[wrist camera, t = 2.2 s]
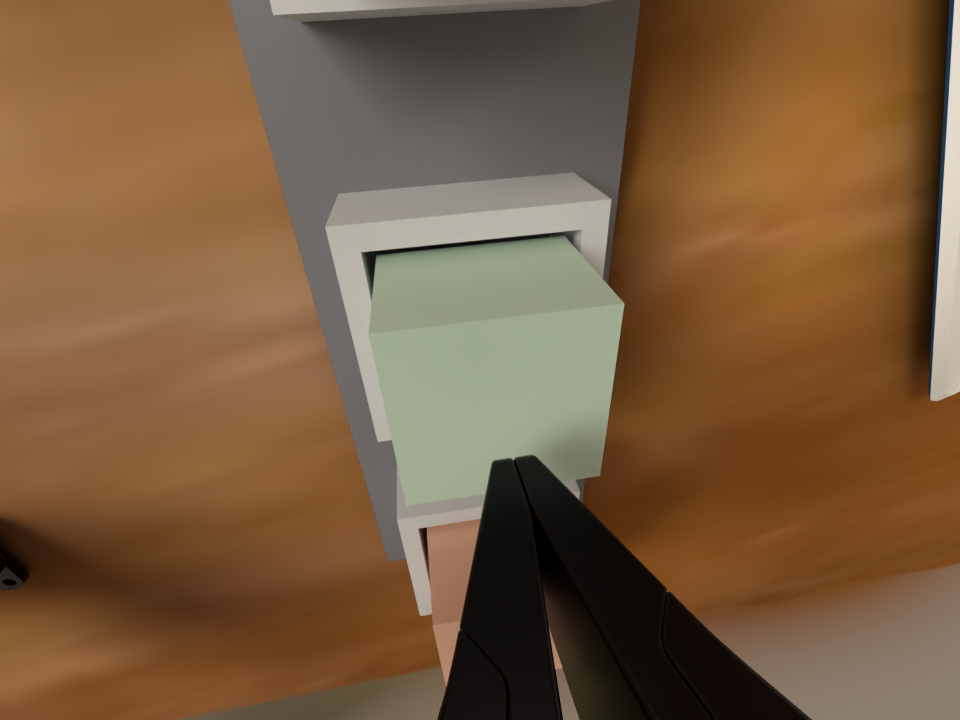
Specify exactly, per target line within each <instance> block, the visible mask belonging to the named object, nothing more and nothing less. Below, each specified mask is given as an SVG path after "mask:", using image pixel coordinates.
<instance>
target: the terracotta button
mask: <svg viewBox="0 0 960 720" xmlns="http://www.w3.org/2000/svg"><path fill="white" fill-rule="evenodd" d="M480 520H481V519H476V520H469V521H463V522H457V523H451V524H444V525H438V526H432V527H427V541H428V557H429V574H430V590H431V606H432V623H433V629H434V634H435V638H436V643H437V648H438V652H439V657H440V661H441V666H442V670H443V675H444V679H445V684H446V687H447V682H448V678H449V673H450V669H451V665H452V660H453V656H454V651H455V646H456V640H457V635H458V632H459V631H460V622H461V616H462V611H463V606H464V601H465V596H466V591H467V586H468V581H469V576H470V571H471V565H472V560H473V555H474V550H475V545H476V540H477V535H478V530H479V525H480ZM549 631H550V629H549ZM550 638H551V644H552V651H553V657H554V664H555V670H556V669H560V668H562V665H561V662H560V659H559V656H558V653H557V650H556V647H555V644H554V641H553V638H552V635H551V632H550Z"/></svg>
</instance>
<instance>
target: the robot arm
mask: <svg viewBox="0 0 960 720" xmlns="http://www.w3.org/2000/svg"><path fill="white" fill-rule="evenodd" d="M28 577H29V574H28V572H27V571H26V570H25V569H24V568H23V567H21V566H20V565H19V564H18V563H17V562H16V561H15V560H14V559H13V558H12V557H11V556H10V555H9V554H7V553H6V552H5V551H4V550H3V549H2V548H1V547H0V591H4V590H10V589H16V588H20V587H22V586H23V585H24V583H25V582H26V580H27V579H28ZM549 629H550V631H549ZM550 632H551V635H552V638H553V641H554V644H555V647H556V650H557V653H558V656H559V659H560V662H561V665H562V668H563V671H564V674H565V677H566V680H567V683H568V686H569V689H570V691H571V695H572V698H573V700H574V704H575V707H576V710H577V713H578V716H579V719H580V720H812V719H810V718H809V717H808V716H807V715H806V714H805V713H803V712H802V711H801V710H800V709H799V708H797V707H796V706H795V705H794V704H793V703H792V702H790V701H789V700H788V699H787V698H786V697H784V696H783V695H782V694H781V693H780V692H779V691H778V690H776V689H775V688H774V687H773V686H772V685H770V684H769V683H768V682H767V681H766V680H765V679H763V678H762V677H761V676H760V675H759V674H758V673H756V672H755V671H754V670H753V669H751V668H750V667H749V666H748V665H747V664H746V663H745V662H744V661H743V660H741V659H740V658H739V657H738V656H737V655H735V654H734V653H733V652H732V651H731V650H730V649H729V648H728V647H727V646H726V645H724V644H723V643H722V642H721V641H720V640H719V639H718V638H716V637H715V636H714V635H713V634H712V633H711V632H710V631H709V630H708V629H707V628H706V627H705V626H704V625H703V624H702V623H701V622H700V621H699V620H698V619H697V618H696V617H695V616H694V615H693V614H692V613H691V612H690V611H689V610H688V609H687V608H686V607H685V606H684V605H683V604H682V603H681V602H680V601H679V600H678V599H677V598H676V597H675V596H674V595H673V594H672V593H671V592H667V589H666V587H665V586H664V585H663V584H662V583H661V582H660V581H659V580H658V579H657V578H656V577H655V576H654V575H653V574H652V573H651V572H650V571H649V570H648V569H647V568H646V567H645V566H644V565H643V564H642V563H641V562H640V561H639V560H638V559H637V558H636V557H635V556H634V555H633V554H632V553H631V552H630V551H629V550H628V549H627V548H626V547H625V546H624V545H623V544H622V543H621V542H620V541H619V540H618V539H617V538H616V537H615V536H614V535H613V534H612V533H611V532H610V530H609V529H608V528H607V527H606V526H605V525H604V524H603V523H602V522H601V521H600V520H599V519H598V518H597V517H596V516H595V515H594V514H593V513H592V512H591V511H590V510H589V509H588V508H587V507H586V506H585V505H584V504H583V503H582V502H581V501H580V500H579V499H578V498H577V497H576V496H575V495H574V494H573V493H572V492H571V491H570V490H569V489H568V488H567V487H566V486H565V485H564V484H563V483H562V482H561V481H560V480H559V479H558V478H557V477H556V476H555V475H554V474H553V473H552V472H551V471H550V470H549V469H548V468H547V467H546V466H545V465H544V464H543V463H542V462H541V461H540V460H539V459H538V458H537V457H536V456H535V455H525V456H519V457H515V458H514V460H513V459H512V458H505V459H498V460H494V461H493V462H492V464H491V469H490V474H489V479H488V484H487V489H486V494H485V499H484V504H483V509H482V514H481V520H480V525H479V530H478V535H477V540H476V545H475V550H474V555H473V560H472V565H471V571H470V576H469V581H468V586H467V591H466V596H465V601H464V606H463V611H462V616H461V622H460V631H459V632H458V635H457V640H456V646H455V651H454V656H453V660H452V665H451V669H450V673H449V678H448V682H447V687H446V691H445V695H444V698H443V702H442V706H441V708H440V712H439V716H438V720H563V717H562V710H561V704H560V697H559V691H558V684H557V677H556V671H555V664H554V657H553V651H552V644H551V638H550Z"/></svg>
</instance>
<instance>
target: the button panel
mask: <svg viewBox="0 0 960 720" xmlns="http://www.w3.org/2000/svg"><path fill="white" fill-rule="evenodd" d="M640 3H641V0H229V4H230V7H231V11H232V14H233V18H234V21H235V25H236V28H237V32H238V35H239V39H240V42H241V46H242V50H243V53H244V57H245V60H246V64H247V67H248V71H249V74H250V78H251V81H252V85H253V88H254V92H255V95H256V99H257V102H258V106H259V109H260V113H261V116H262V120H263V123H264V127H265V130H266V134H267V137H268V141H269V144H270V148H271V151H272V155H273V158H274V162H275V165H276V169H277V172H278V176H279V179H280V183H281V186H282V190H283V194H284V197H285V201H286V204H287V208H288V211H289V215H290V218H291V222H292V225H293V229H294V232H295V236H296V239H297V243H298V246H299V250H300V253H301V257H302V260H303V264H304V267H305V271H306V274H307V278H308V281H309V285H310V288H311V292H312V295H313V299H314V302H315V306H316V309H317V313H318V316H319V320H320V323H321V327H322V330H323V334H324V338H325V341H326V345H327V348H328V352H329V355H330V359H331V362H332V366H333V369H334V373H335V376H336V380H337V383H338V387H339V390H340V394H341V397H342V401H343V404H344V408H345V411H346V415H347V418H348V422H349V425H350V429H351V432H352V436H353V439H354V443H355V446H356V450H357V453H358V457H359V460H360V464H361V467H362V471H363V474H364V478H365V482H366V485H367V489H368V492H369V496H370V499H371V503H372V506H373V510H374V513H375V517H376V520H377V524H378V527H379V531H380V534H381V538H382V541H383V545H384V548H385V552H386V555H387V559H388V562H389V561H395V560H401V559H406V560H407V564H408V568H409V572H410V576H411V580H412V584H413V588H414V592H415V596H416V600H417V604H418V609H419V613H420V616H424V615H430V614H432V606H431V590H430V574H429V557H428V541H427V527H432V526H438V525H444V524H451V523H457V522H463V521H469V520H476V519H481V514H482V509H483V504H484V499H485V494H480V495H473V496H467V497H460V498H454V499H447V500H441V501H434V502H428V503H421V504H415V505H408V506H406V502H405V498H404V493H403V489H402V484H401V479H400V475H399V470H398V466H397V461H396V457H395V452H394V448H393V443H392V439H391V434H390V430H389V425H388V420H387V416H386V411H385V407H384V402H383V398H382V393H381V389H380V384H379V380H378V375H377V370H376V366H375V361H374V357H373V352H372V348H371V343H370V339H369V324H370V314H371V304H372V294H373V284H374V274H375V264H376V255H383V254H393V253H402V252H412V251H422V250H431V249H441V248H451V247H460V246H470V245H480V244H489V243H499V242H509V241H518V240H528V239H538V238H547V237H557V236H565V237H566V238H567V239H568V240H569V241H570V243H571V244H572V245H573V246H574V247H575V248H576V249H577V251H578V252H579V253H580V254H581V255H582V256H583V257H584V258H585V260H586V261H587V262H588V263H589V264H590V265H591V266H592V267H593V269H594V270H595V271H596V272H597V273H598V274H599V275H600V277H601V278H602V279H603V280H604V281H605V282H606V283H607V284H608V280H609V271H610V262H611V254H612V245H613V236H614V228H615V219H616V211H617V202H618V193H619V185H620V176H621V167H622V159H623V150H624V141H625V133H626V124H627V115H628V107H629V98H630V89H631V81H632V72H633V63H634V55H635V46H636V37H637V29H638V20H639V11H640ZM585 479H586V478H584V479H577V480H571V481H564V482H562V483H563V484H564V485H565V486H566V487H567V488H568V489H569V490H570V491H571V492H572V493H573V494H574V495H575V496H576V497H577V498H578V499H579V500H580V501H581V502H582V503H583V496H584V488H585Z"/></svg>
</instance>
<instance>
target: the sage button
mask: <svg viewBox="0 0 960 720" xmlns="http://www.w3.org/2000/svg"><path fill="white" fill-rule="evenodd" d="M623 311H624V303H623V301H622V300H621V299H620V298H619V297H618V296H617V295H616V293H615V292H614V291H613V290H612V289H611V288H610V287H609V286H608V284H607V283H606V282H605V281H604V280H603V279H602V278H601V277H600V275H599V274H598V273H597V272H596V271H595V270H594V269H593V267H592V266H591V265H590V264H589V263H588V262H587V261H586V260H585V258H584V257H583V256H582V255H581V254H580V253H579V252H578V251H577V249H576V248H575V247H574V246H573V245H572V244H571V243H570V241H569V240H568V239H567V238H566V237H565V236H557V237H547V238H538V239H528V240H518V241H509V242H499V243H489V244H480V245H470V246H460V247H451V248H441V249H431V250H422V251H412V252H402V253H393V254H383V255H376V264H375V274H374V284H373V294H372V304H371V314H370V324H369V339H370V343H371V348H372V352H373V357H374V361H375V366H376V370H377V375H378V380H379V384H380V389H381V393H382V398H383V402H384V407H385V411H386V416H387V420H388V425H389V430H390V434H391V439H392V443H393V448H394V452H395V457H396V461H397V466H398V470H399V475H400V479H401V484H402V489H403V493H404V498H405V502H406V506H408V505H415V504H421V503H428V502H434V501H441V500H447V499H454V498H460V497H467V496H473V495H480V494H486V489H487V484H488V479H489V474H490V469H491V464H492V462H493V461H494V460H498V459H505V458H512V459H513V460H514V458H515V457H519V456H525V455H535V456H536V457H537V458H538V459H539V460H540V461H541V462H542V463H543V464H544V465H545V466H546V467H547V468H548V469H549V470H550V471H551V472H552V473H553V474H554V475H555V476H556V477H557V478H558V479H559V480H560V481H561V482H564V481H571V480H577V479H584V478H590V477H597V476H600V473H601V466H602V459H603V452H604V445H605V438H606V431H607V424H608V417H609V410H610V403H611V396H612V388H613V381H614V374H615V367H616V360H617V353H618V346H619V339H620V332H621V325H622V318H623Z"/></svg>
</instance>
